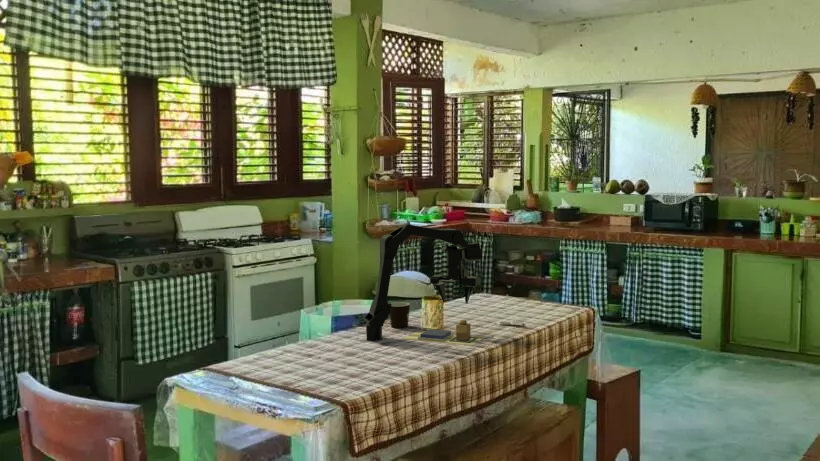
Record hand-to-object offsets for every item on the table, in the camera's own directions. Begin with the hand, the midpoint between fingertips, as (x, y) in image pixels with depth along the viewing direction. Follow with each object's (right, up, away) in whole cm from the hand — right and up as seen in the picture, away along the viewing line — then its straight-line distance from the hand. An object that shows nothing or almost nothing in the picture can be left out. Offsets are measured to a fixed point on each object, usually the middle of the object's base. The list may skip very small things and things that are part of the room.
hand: (455, 302), depth 290 cm
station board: (-5, -13, -9) cm, 17 cm away
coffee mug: (-21, -12, +13) cm, 27 cm away
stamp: (+2, -12, -13) cm, 18 cm away
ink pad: (-8, -12, -8) cm, 16 cm away
